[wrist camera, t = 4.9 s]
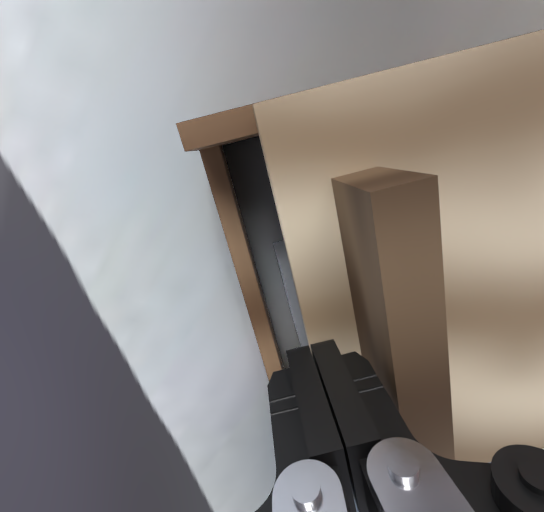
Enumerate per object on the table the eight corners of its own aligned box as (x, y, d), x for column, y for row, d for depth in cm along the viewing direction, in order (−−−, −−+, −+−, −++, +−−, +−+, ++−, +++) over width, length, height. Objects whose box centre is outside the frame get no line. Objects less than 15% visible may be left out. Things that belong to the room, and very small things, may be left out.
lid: (252, 106, 9) (257, 82, 6) (691, -6, 9) (961, -97, 6) (342, 485, 14) (373, 591, 11) (619, 413, 14) (736, 496, 11)
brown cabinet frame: (200, 131, 15) (175, 123, 9) (475, 61, 15) (606, 13, 9) (279, 399, 20) (292, 490, 15) (480, 347, 20) (566, 419, 15)
